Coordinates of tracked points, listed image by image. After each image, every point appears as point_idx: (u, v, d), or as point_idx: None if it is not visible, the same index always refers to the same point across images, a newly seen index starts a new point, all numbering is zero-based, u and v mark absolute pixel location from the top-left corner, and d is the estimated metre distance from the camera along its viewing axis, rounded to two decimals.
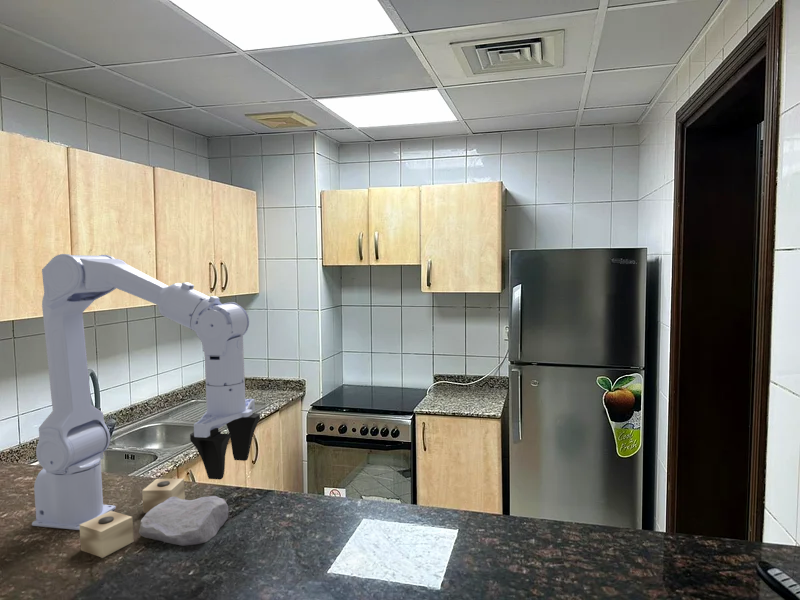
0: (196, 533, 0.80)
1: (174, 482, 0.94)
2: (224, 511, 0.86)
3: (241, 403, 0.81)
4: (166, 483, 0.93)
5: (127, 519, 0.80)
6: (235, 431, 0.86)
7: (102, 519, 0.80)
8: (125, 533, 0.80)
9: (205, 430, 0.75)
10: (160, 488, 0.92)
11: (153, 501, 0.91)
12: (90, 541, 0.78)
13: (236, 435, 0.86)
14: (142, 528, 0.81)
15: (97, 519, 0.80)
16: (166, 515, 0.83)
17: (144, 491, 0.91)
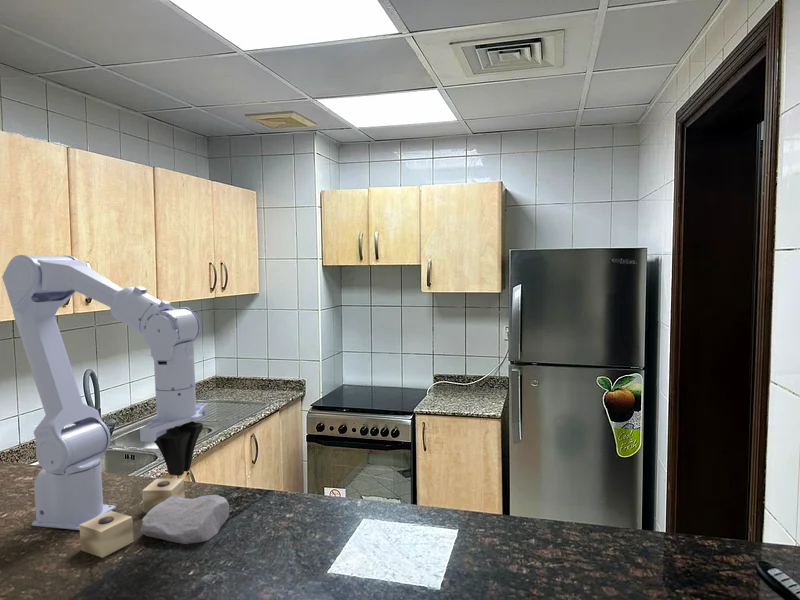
0: (197, 532, 0.80)
1: (174, 482, 0.94)
2: (225, 510, 0.87)
3: (190, 408, 0.82)
4: (166, 483, 0.93)
5: (127, 519, 0.80)
6: None
7: (102, 519, 0.80)
8: (125, 533, 0.80)
9: (150, 435, 0.76)
10: (160, 487, 0.92)
11: (153, 501, 0.91)
12: (90, 541, 0.78)
13: None
14: (144, 527, 0.81)
15: (97, 519, 0.80)
16: (168, 513, 0.84)
17: (144, 491, 0.91)
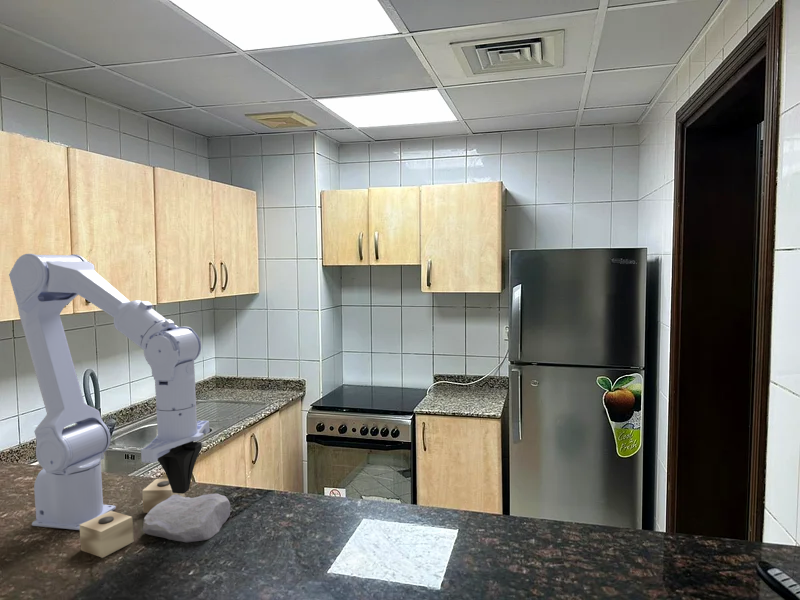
0: (199, 530, 0.81)
1: None
2: (226, 508, 0.87)
3: (191, 427, 0.82)
4: (166, 483, 0.93)
5: (127, 519, 0.80)
6: None
7: (102, 519, 0.80)
8: (125, 533, 0.80)
9: (152, 456, 0.76)
10: (160, 487, 0.92)
11: (153, 501, 0.91)
12: (90, 541, 0.78)
13: None
14: (146, 525, 0.82)
15: (97, 519, 0.80)
16: (169, 512, 0.84)
17: (144, 491, 0.91)
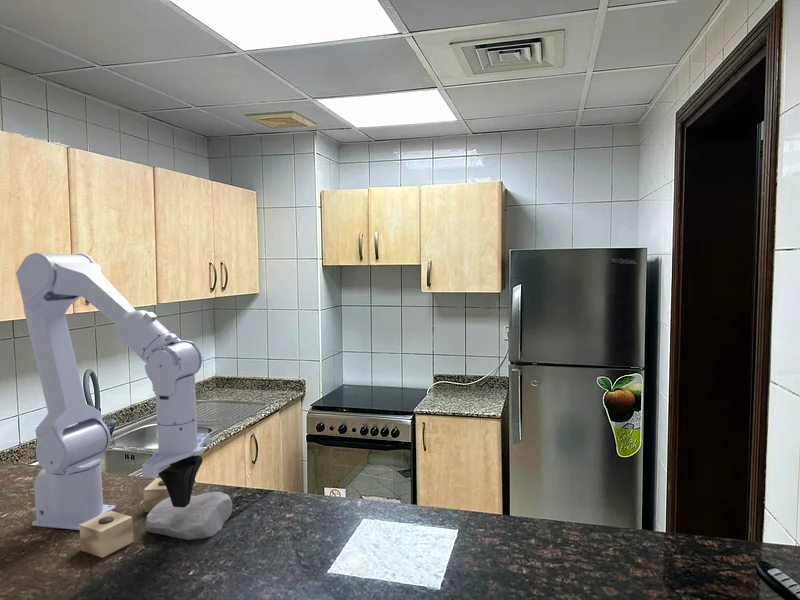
0: (202, 528, 0.81)
1: None
2: (228, 506, 0.88)
3: (192, 441, 0.82)
4: None
5: (127, 519, 0.80)
6: None
7: (102, 519, 0.80)
8: (125, 533, 0.80)
9: (152, 471, 0.76)
10: (161, 486, 0.92)
11: (155, 500, 0.91)
12: (90, 541, 0.78)
13: None
14: (149, 523, 0.82)
15: (97, 519, 0.80)
16: (172, 510, 0.85)
17: (145, 490, 0.91)
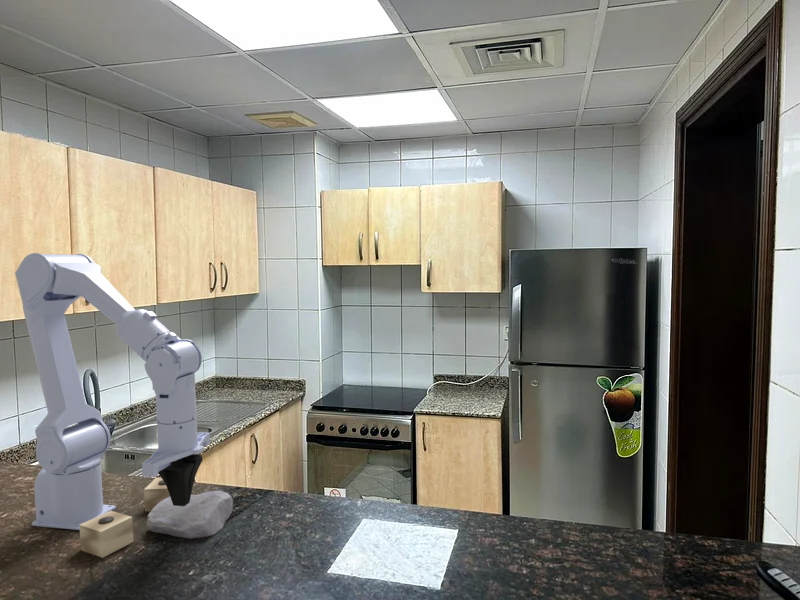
0: (203, 526, 0.82)
1: None
2: (229, 505, 0.89)
3: (192, 440, 0.82)
4: None
5: (127, 519, 0.80)
6: None
7: (102, 519, 0.80)
8: (125, 533, 0.80)
9: (152, 470, 0.76)
10: (162, 486, 0.92)
11: (155, 499, 0.91)
12: (90, 541, 0.78)
13: None
14: (150, 522, 0.83)
15: (97, 519, 0.80)
16: (173, 509, 0.85)
17: (146, 490, 0.91)
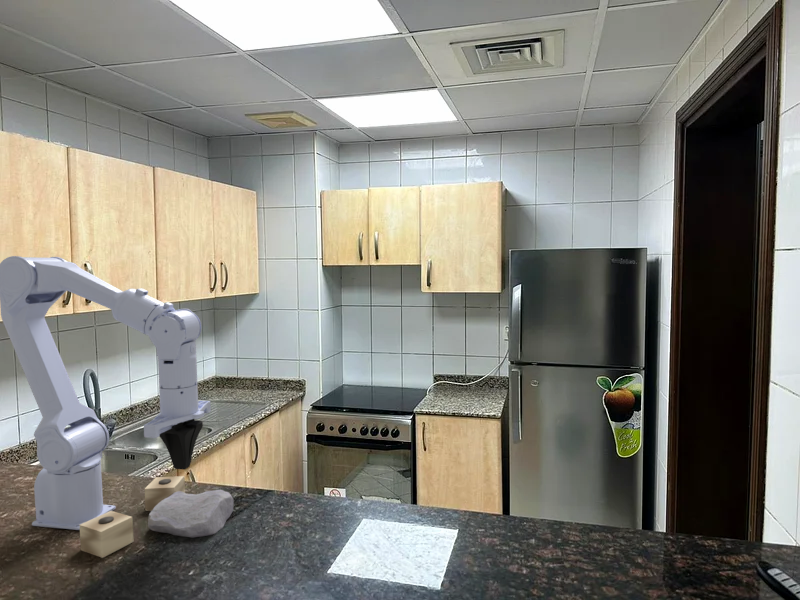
0: (205, 525, 0.82)
1: (175, 480, 0.95)
2: (230, 504, 0.89)
3: (192, 405, 0.85)
4: (167, 481, 0.94)
5: (127, 519, 0.80)
6: None
7: (102, 519, 0.80)
8: (125, 533, 0.80)
9: (154, 431, 0.79)
10: (162, 485, 0.93)
11: (156, 499, 0.92)
12: (90, 541, 0.78)
13: None
14: (151, 521, 0.83)
15: (97, 519, 0.80)
16: (174, 508, 0.85)
17: (146, 489, 0.91)
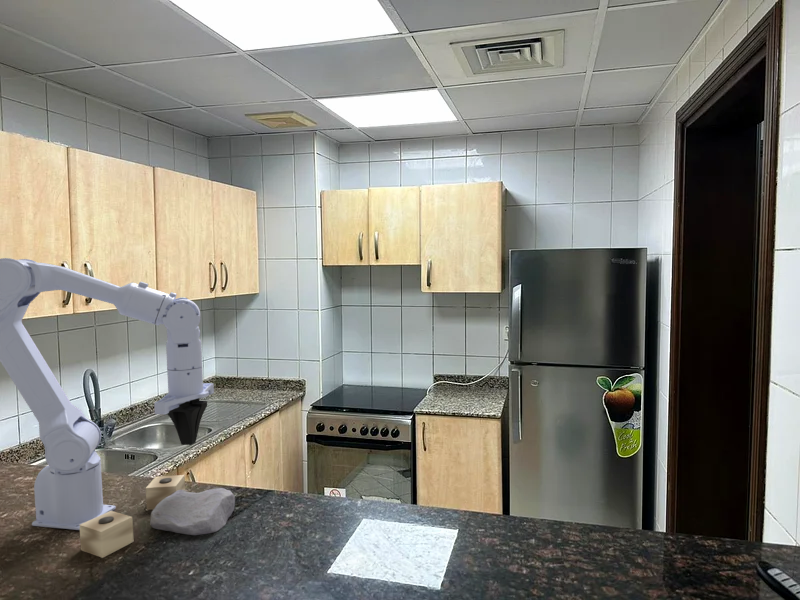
0: (207, 523, 0.83)
1: (176, 479, 0.95)
2: (231, 502, 0.90)
3: (198, 386, 0.93)
4: (168, 480, 0.94)
5: (127, 519, 0.80)
6: None
7: (102, 519, 0.80)
8: (125, 533, 0.80)
9: (164, 408, 0.87)
10: (163, 484, 0.93)
11: (157, 498, 0.92)
12: (90, 541, 0.78)
13: None
14: (153, 519, 0.84)
15: (97, 519, 0.80)
16: (176, 506, 0.86)
17: (148, 488, 0.92)
